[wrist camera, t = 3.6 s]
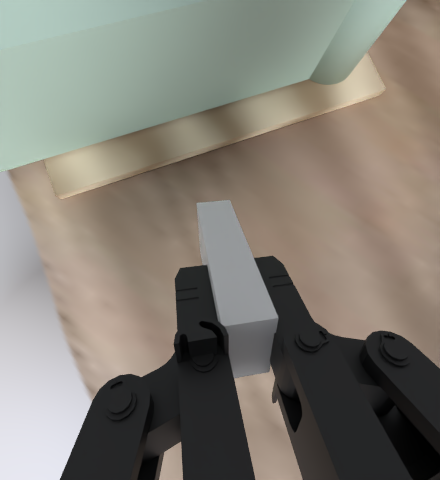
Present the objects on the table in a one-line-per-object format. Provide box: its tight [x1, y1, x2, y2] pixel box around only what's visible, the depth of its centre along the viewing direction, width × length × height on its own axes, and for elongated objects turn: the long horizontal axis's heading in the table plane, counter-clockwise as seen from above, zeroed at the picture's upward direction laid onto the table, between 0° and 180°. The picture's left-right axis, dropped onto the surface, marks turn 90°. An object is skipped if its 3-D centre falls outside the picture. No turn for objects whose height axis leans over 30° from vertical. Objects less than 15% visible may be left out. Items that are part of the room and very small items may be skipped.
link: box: [0, 0, 406, 172], centre depth 16 cm, size 28×5×8 cm, turn 112°
